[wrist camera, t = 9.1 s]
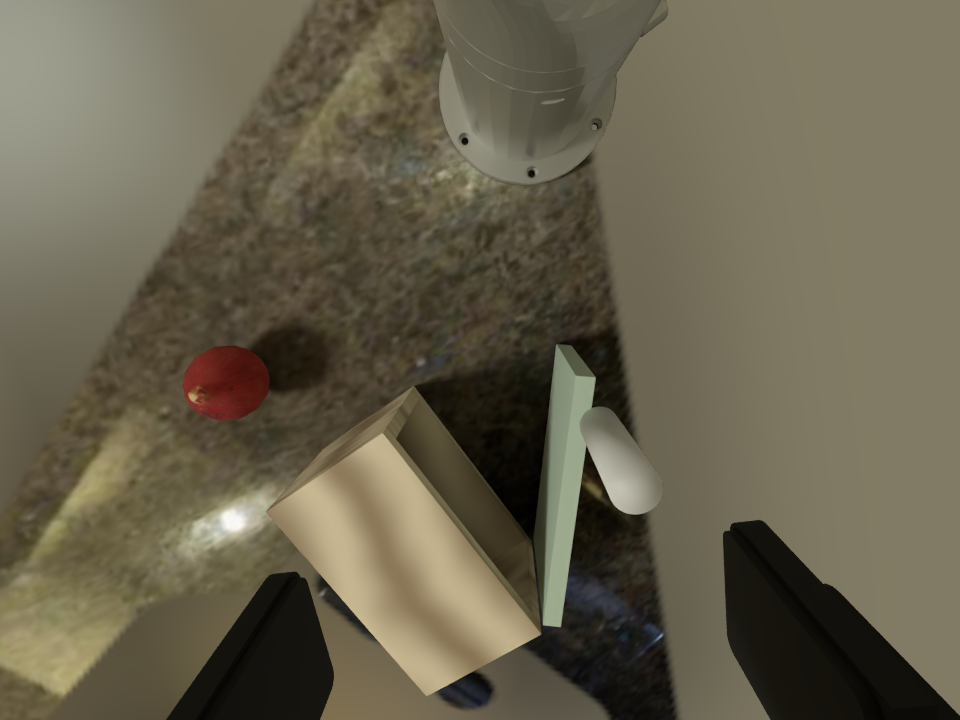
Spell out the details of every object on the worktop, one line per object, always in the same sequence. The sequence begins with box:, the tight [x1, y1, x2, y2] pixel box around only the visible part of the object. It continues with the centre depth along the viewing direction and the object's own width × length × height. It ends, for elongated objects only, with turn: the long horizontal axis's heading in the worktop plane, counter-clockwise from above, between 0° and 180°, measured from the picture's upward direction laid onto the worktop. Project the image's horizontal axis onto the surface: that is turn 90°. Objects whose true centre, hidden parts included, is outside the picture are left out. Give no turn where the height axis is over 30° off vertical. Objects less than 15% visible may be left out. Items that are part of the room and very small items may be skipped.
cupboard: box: [266, 386, 541, 696], centre depth 36 cm, size 10×18×10 cm, turn 35°
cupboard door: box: [533, 344, 664, 627], centre depth 30 cm, size 3×18×18 cm, turn 176°
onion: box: [183, 346, 270, 421], centre depth 35 cm, size 6×6×8 cm
